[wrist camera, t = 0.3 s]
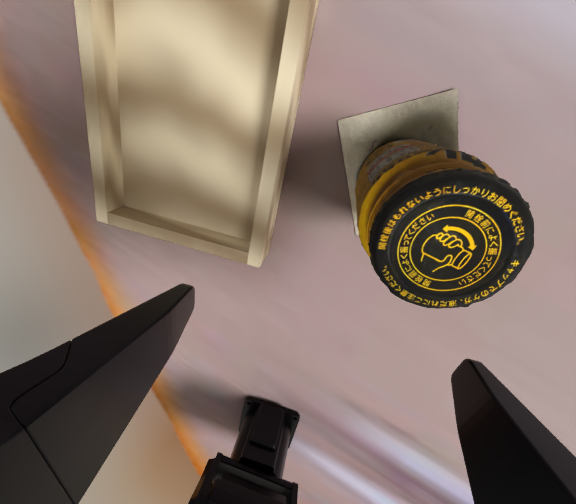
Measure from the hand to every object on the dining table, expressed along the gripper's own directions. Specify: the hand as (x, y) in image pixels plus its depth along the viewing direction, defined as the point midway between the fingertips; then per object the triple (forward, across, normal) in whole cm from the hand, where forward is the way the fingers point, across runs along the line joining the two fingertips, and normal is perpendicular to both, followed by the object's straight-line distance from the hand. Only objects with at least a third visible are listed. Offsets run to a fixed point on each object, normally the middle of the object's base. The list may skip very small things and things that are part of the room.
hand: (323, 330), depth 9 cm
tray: (+15, +11, -2) cm, 19 cm away
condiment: (+15, -4, -2) cm, 15 cm away
